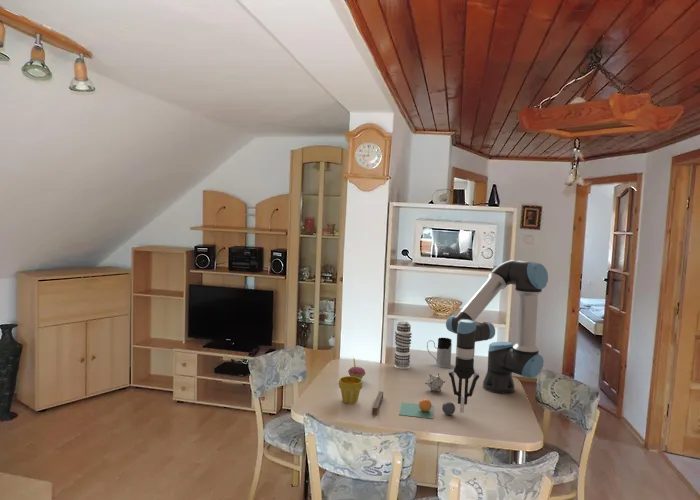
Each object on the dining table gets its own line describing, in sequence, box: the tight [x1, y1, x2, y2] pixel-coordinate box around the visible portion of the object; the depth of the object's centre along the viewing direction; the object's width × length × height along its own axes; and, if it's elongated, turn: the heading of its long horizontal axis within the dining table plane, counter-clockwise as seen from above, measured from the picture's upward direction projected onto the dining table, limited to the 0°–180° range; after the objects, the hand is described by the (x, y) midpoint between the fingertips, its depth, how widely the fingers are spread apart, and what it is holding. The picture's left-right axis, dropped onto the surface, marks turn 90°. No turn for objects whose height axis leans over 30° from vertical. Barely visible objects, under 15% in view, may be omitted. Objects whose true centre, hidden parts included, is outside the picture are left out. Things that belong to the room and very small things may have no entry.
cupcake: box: [347, 358, 366, 380], centre depth 246 cm, size 9×8×12 cm
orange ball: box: [418, 398, 433, 412], centre depth 211 cm, size 6×6×6 cm
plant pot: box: [338, 375, 363, 405], centre depth 220 cm, size 10×10×10 cm
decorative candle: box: [394, 320, 413, 370], centre depth 272 cm, size 9×9×25 cm
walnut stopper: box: [371, 390, 384, 416], centre depth 215 cm, size 2×20×3 cm, turn 169°
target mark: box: [398, 401, 435, 420], centre depth 212 cm, size 14×14×1 cm
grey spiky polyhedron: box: [424, 373, 446, 393], centre depth 237 cm, size 9×8×10 cm
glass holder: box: [426, 337, 453, 369], centre depth 279 cm, size 9×14×15 cm, turn 80°
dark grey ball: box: [441, 401, 456, 416], centre depth 209 cm, size 6×6×6 cm
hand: (461, 411), depth 208 cm, fingers closed
